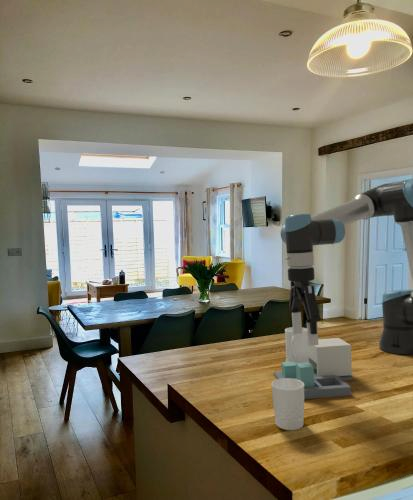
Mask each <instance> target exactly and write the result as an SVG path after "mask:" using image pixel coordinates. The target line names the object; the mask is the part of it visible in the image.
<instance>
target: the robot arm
mask: <svg viewBox="0 0 413 500" xmlns="http://www.w3.org/2000/svg"><path fill="white" fill-rule="evenodd" d="M388 216H393V219H394V223H395V224H398V226H400V228H401V232H402V237H403V243H404V247H405V252H406V257H407V261H408V266H409V271H410V275H411V280H412V282H413V178H408V179H403V180H400V181H394V182H388V183H384V184H381V185H378V186H375V187H372V188H370V189H369V190H367V191H364V192H361V193H359V194H357V195H355V196H354V197H353V199H352V200H349V201H347V202H344V203H342V204H338V205H336V206H334V207H332V208H329V209H327V210H324V211H322V212H318V213H317V214H314V215H311V214H310V213H299V214H298V213H297V214H289V215H287V216H286V217H285V218H284V225H282V227H281V228H280V238H281V241H282V242H283V243H284V244H285V245H286V247H285V249H286V256H285V260H286V261H287V262H286V263H287V267H289V268H288V269H287V280H288V281H290V291H289V292H290V293H289V300H288V301H289V303H288V308H289V310H290V312H291V321H292V322H291V323H292V327H293V334H299V333H302V328H303V327H302V308H301V306H302V305H303V309H304V313H305V315H306V318H307V319H306V320H305V324H306V329H307V336H308V346H313V345H318V338H319V331H318V322H320V321H321V315H320V311H319V307H318V306H319V305H318V303H317V299H316V298H317V297H316V293H315V292H316V291H315V286H314V285H310V282H311V281H314V280H315V268H314V267H313V266H314V265H315V259H314V247H315V246H321V245H322V246H323V245H325V246H326V245H334V244H339V243H341V242H342V241H343V240H344V238H345V237H346V227H345V226H348V225H350V224H353V223H354V222H357V221H360V220H365V221H367V220H369V219H372V218H376V217H377V218H378V217H388ZM381 304H382V306H381V307H382V308H381V309H382V321H383V322H382V323H383V324H382V327H383V329H382V332H381V336H380V338H379V343H378V346H379V350H381V351H383V352H385V353H388V354H389V353H390V354H396V355H413V289H397V290H388V291H385V292H384V293H383V294H382V301H381Z"/></svg>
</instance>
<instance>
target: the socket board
mask: <svg viewBox="0 0 413 500" xmlns="http://www.w3.org/2000/svg"><path fill="white" fill-rule="evenodd" d="M292 379H296V378H292ZM345 396H352V387H351V386H350V385H349V384H348V383H347V382H346V381H343V380H342V379H340V378H339V377H338V376H337V375H330V376H317V377H314V387H309V388H304V400H309V399H324V398H333V397H345Z"/></svg>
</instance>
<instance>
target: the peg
mask: <svg viewBox="0 0 413 500" xmlns="http://www.w3.org/2000/svg"><path fill="white" fill-rule="evenodd" d="M296 379H297V380H300V381H302V382H303V383H304V388H309V387H314V367H313V366H312V365H311V364H310V363H309V362H308V363H296Z"/></svg>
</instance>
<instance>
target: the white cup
mask: <svg viewBox="0 0 413 500" xmlns="http://www.w3.org/2000/svg"><path fill="white" fill-rule="evenodd" d="M271 394H272V403H273V404H272V405H273V411H274V420H275V421H274V423H275V425H276V427H278V428H280V430H286V431H297V430H300V429H302V428H303V426H304V416H305V399H304V383H303V382H302V381H300V380H297V379H292V378H282V379H275V380H272V382H271Z"/></svg>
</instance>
